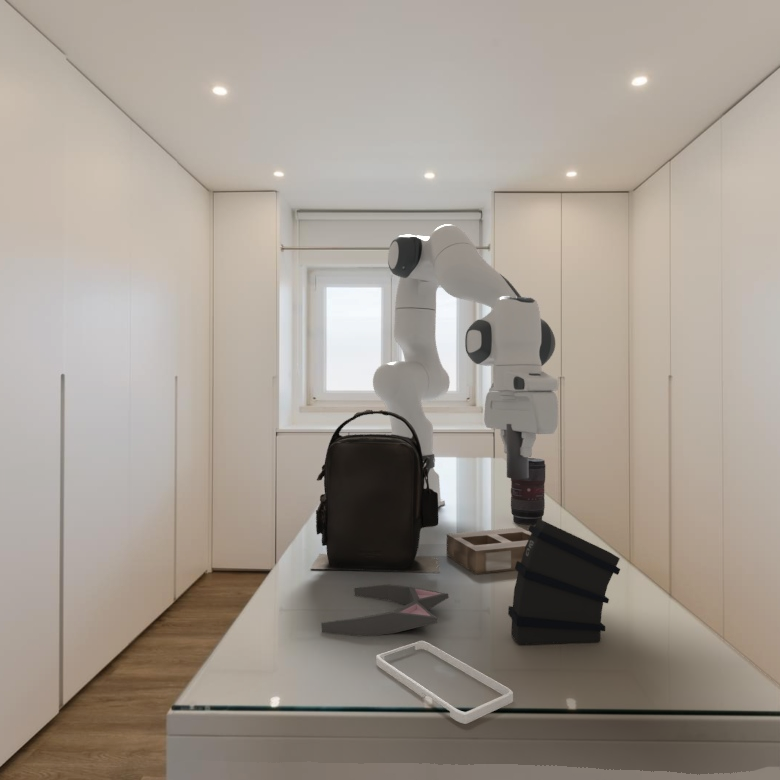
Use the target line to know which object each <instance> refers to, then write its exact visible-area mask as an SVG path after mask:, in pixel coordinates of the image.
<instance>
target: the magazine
mask: <svg viewBox="0 0 780 780" xmlns="http://www.w3.org/2000/svg"><path fill="white" fill-rule="evenodd" d="M527 531H529V532H531V536H530V538H529V540H528V542H527V544H526V546H525V550H524V553H523V557H522V561H521V562H519V561H517V562H516V566H515V569H516V571H517V575H516V581H515V585H514V589H513V600H512V606H511V605H509V606H508V607H507V611H508V612H507V614H508V616H509V618H510V619H511V637H512V638H513V639H514V641H515V642H516V643H517V645H520V646H521V645H522V646H523V645H524V646H525V645H526V646H527V645H547V644H548V645H551V644H552V645H553V644H571V643H572V644H575V643H577V644H578V643H579V644H581V643H600V642H601V639H602V638H601V633H602V632H605V631H606V625H605V624H603V623H602V613H603V605H604V603H605V604H609V602H610V599H609V597H607V596H606V594H607V589H608V585H609V583H610V581H611V579H612V577H613V575H614V574H615V575H617V576H619V573H620V572H621V568H619V567H618V564H619V561H620V559H621V558H620V557H619V556H616V555H615V554H613V553H612V552H610V551H608V550H606V549H603V548H602V547H600V546H598V545H595V544H593V543H591V542H590V541H587V540H585V539H582V538H581V537H578V536H576V535H574V534H572V533H569V532H568V531H566V530H563V529H561V528H559V527H557V526H555V525H553V524H551V523H548V522H547V521H544V520H543V519H542V520H541V519H538V520H537V523H536V524H529V527H528V530H527Z"/></svg>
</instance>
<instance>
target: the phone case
mask: <svg viewBox="0 0 780 780" xmlns="http://www.w3.org/2000/svg"><path fill="white" fill-rule="evenodd" d="M412 647H414V650H415V651H418V650H424V651H426V652H429V653H431V654H432V655H434V656H436V657H437V658H439V659H441V660H442V661H445V662H446V663H448V664H449V665H451V666H453V667H454V668H456V669H458V670H460V671H462V672H464V674H466V675H468V676H470V677H472V678H473V679H475V680H476V681H478V682H480V683H482V684H483V685H485V686H487V687H489V688H490V689H493V690H494V691H495V692H497V693H499V694H501V696H499V697H496V698H494V699H492V700H489V701H488V702H485V703H483V704H481V705H479V706H475V707H474V708H472V709H470V710H467V711H462V710H460V709H458V708H456V707H455V706H453V705H451V704H450V703H449V702H447V701H445V700H444V699H443V698H441V697H439V696H438V695H437V694H436V693H434V692H432V691H431V690H429V689H427V688H426V687H424V686H423V685H421V684H420V683H419V682H417V681H416V680H414V679H413V678H412V677H410V676H408V675H406V673H404V672H402V671H400V669H397V668H396V667H395V666H393V665H392V664H390V662H387V661H386V660H385V656H389V655H391V654H394V653H398V652H401V651H404V650H407V649H409V648H412ZM375 657H376V658H375V659H376V660H375V661H376V666H377V667H379V668H380V669H381V670H382V671H384V672H385V673H387V674H389V675H390V676H391V677H393V678H394V679H395V680H397V681H398V682H400V683H401V684H403V685H404V686H406V687H408V688H409V689H410V690H412V691H413V692H414V693H416V694H417V695H418V696H420V697H421V698H425V697H426V696H427V697H428V698H430V699H431V700H433V701H434V702H436V703H437V704H438V705H440V706H442V707H443V708H444V709H445V710H447V711H449V717H450V718H452V720H454V721H456V722H458V723H460V724H465V725H467V724H469V723H471V722H474V721H476V720H477V719H480V718H481V717H484V716H487V715H488V714H490V713H493V712H494V711H495V712H496V711H497V710H498V709H501V708H503V707H505V706H507V705H510V704H511V703H512V704H513V702H514V692H513V690H511V689H510V688H509V687H508V686H505V685H504V684H502V683H500V682H499V681H497V680H495V679H493V678H492V677H490V676H487V675H486V674H484V673H482V672H481V671H480V670H478V669H475V668H474V667H473V666H471V665H469V664H467V663H465V662H463V661H461V660H460V659H458V658H456V657H454V656H452V655H451V654H449V653H447V652H445V651H444V650H442V649H441V648H438V647H437V646H436V645H435V646H434V645H433V644H432V643H429V642H427V641H425V640H418V641H416V642H413V643H409V644H407V645H403V646H400V647H397V648H394V649H391V650H389V651H385V652H382V653H379V654H376V656H375Z"/></svg>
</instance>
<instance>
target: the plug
mask: <svg viewBox="0 0 780 780" xmlns="http://www.w3.org/2000/svg"><path fill="white" fill-rule="evenodd" d="M506 439H507V454H506V478H509V479H511V478H513V479H526V478H529V471H528V458H529V457H521V456H520V455H519V447H522V443H523V438H522V432H518V431H513V430H512V427H511V424H506Z"/></svg>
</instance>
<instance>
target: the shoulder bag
mask: <svg viewBox="0 0 780 780" xmlns="http://www.w3.org/2000/svg"><path fill="white" fill-rule="evenodd" d="M374 414H375V415H377V414H379V415H383V416H389V415H390V416H393V417H395V418H397V419H399V420H401V421H403V422H404V423H405V424H406V425H407V427H408V428H409V429H410V431H411V432H412V434H413V436H412V438H409V437H403V436H399V435H393V434H392V433H391V434H386V433H385V434H381V433H379V434H378V433H369V434H365V433H364V434H347V435H340V433H341V431H342V430H343V428H345V426H346V425H347V424H349V423H351V422H352V421H354V420H356V419H357V418H360V417H362V416H367V415H368V416H369V415H374ZM427 459H428V461H427ZM426 461H427V464H426V466H425V467H424V464H425V463H426ZM429 462H430V457H427V458H426V459H425V461H424V462H423V456H422V452H421V446H420V442H419V439H418V436H417V434H416V432H415V430H414V428H413V427H412V425H411V424H410V423H409V422H408V421H407V420H406V419H405V418H403V417H402V416H400V415H398V414H396V413H393V412H389V411H387V410H373V409H366V410H364V411H358V412H356V413H354V415H353V416H352V417H350V418H348V419H346V420H344V421H343V422H342V423H341V424H340V425H338V427H337V428H336V429H335V431H334V432H333V434H332V436H331V438H330V441H329V443H328V447H327V449H326V455H325V460H324V464H323V465H322V466H321V472H320V473H318V475H317V478H316V481H318V482H319V481H322V480H323V486H324V493H322V494H320V496H319V501H320V503H319V504H318V507H317V509H315V514H316V516H315V523H316V524H315V529H316V530H315V531H316V535H319V534H320V535H321V545H322V546H323V547H325V549H326V553H319V554H318V556H317V558H316V559H315V561H314V562H313V564H312V565H311V567H310V569H311V570H334V571H335V570H336V571H338V570H339V571H363V572H364V571H368V572H370V571H371V572H373V571H374V572H400V573H401V572H403V573H428V574H429V573H431V574H437V573H440V572H441V569H440V562H439V559H438V557H436V556H435V557H434V556H417V553H418V550H419V545H420V537H421V530H422V529H424V528H429V527H430V528H433V527H437V526H439V525H438V524H439V507H438V493H437V492H434V491H433V490H432V489H429V483H428V482H429V481H428V471H427V467H428V465H429ZM425 475H426V476H425ZM426 477H427V479H426ZM323 478H324V479H323ZM424 478H425V481H426V484H427V488H426V489H424Z"/></svg>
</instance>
